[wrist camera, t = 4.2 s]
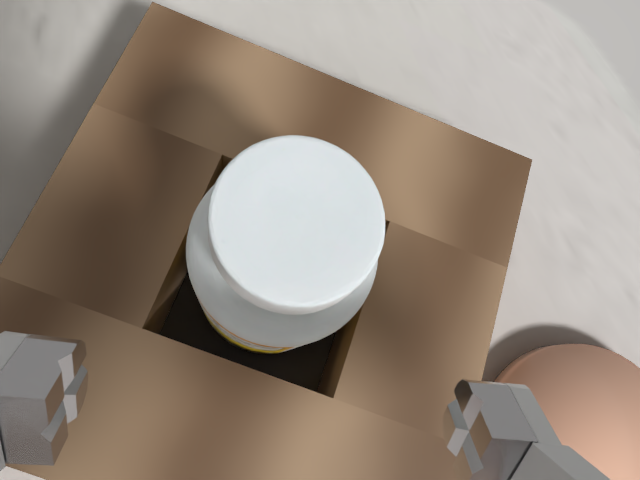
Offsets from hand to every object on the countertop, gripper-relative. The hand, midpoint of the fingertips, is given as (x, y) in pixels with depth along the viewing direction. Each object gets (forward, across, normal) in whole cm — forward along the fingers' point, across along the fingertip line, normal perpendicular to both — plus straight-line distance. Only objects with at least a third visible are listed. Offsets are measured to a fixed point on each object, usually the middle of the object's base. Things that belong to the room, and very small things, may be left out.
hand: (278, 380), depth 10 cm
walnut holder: (+8, 0, +4) cm, 9 cm away
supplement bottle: (+9, 0, +4) cm, 9 cm away
